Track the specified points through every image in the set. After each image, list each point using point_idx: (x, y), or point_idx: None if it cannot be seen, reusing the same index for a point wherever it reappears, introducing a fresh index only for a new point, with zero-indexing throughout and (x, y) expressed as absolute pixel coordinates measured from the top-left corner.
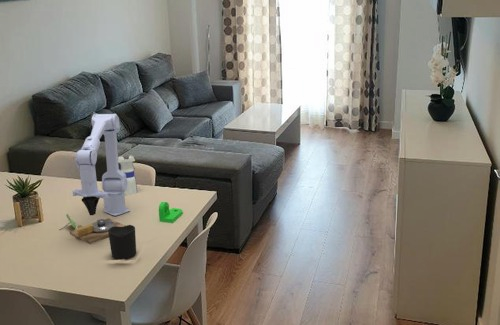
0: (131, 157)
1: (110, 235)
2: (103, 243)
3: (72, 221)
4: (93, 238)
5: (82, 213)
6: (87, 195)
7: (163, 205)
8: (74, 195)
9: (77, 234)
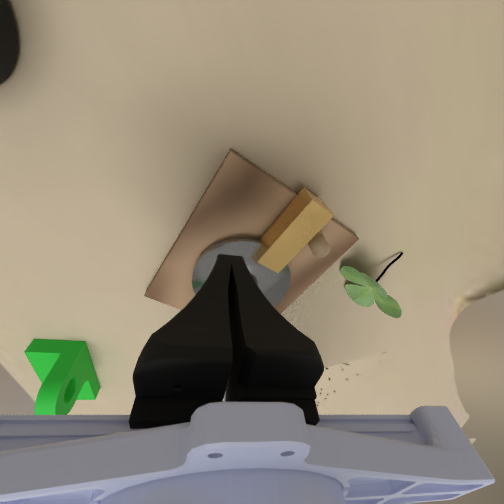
0: None
1: None
2: (169, 159)
3: (365, 299)
4: (229, 185)
5: (350, 353)
6: (186, 445)
7: (36, 403)
8: (431, 412)
9: (311, 194)
